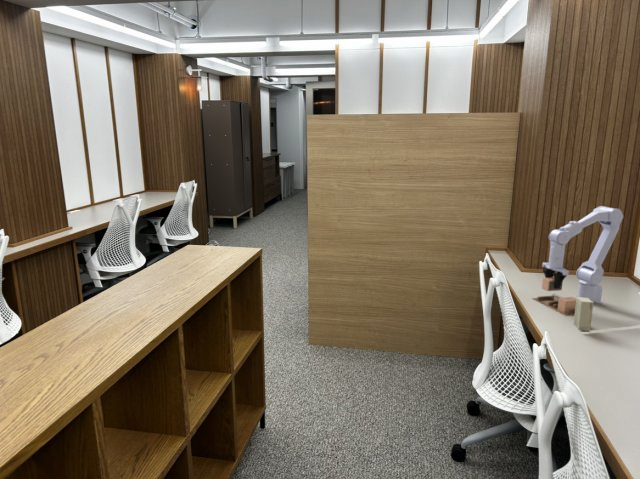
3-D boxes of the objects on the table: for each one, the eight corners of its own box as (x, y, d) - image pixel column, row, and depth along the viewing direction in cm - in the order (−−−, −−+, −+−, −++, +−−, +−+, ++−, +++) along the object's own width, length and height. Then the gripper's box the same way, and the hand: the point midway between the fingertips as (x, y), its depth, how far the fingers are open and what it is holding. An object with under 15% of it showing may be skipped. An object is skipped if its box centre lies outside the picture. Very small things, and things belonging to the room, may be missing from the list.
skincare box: (590, 332, 181) (594, 302, 179) (577, 331, 182) (581, 301, 179) (584, 326, 187) (588, 297, 185) (572, 325, 188) (576, 296, 186)
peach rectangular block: (541, 288, 212) (543, 277, 211) (555, 287, 213) (556, 276, 212) (548, 291, 208) (549, 280, 207) (562, 290, 209) (563, 280, 208)
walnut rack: (555, 298, 220) (555, 293, 219) (592, 315, 199) (592, 310, 198) (530, 300, 217) (531, 295, 216) (566, 318, 196) (566, 312, 195)
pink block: (570, 307, 205) (571, 296, 204) (578, 311, 201) (579, 300, 200) (556, 308, 204) (557, 297, 203) (564, 312, 199) (565, 301, 198)
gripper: (537, 253, 213) (534, 281, 216) (560, 261, 200) (556, 292, 202) (551, 252, 215) (547, 281, 218) (574, 260, 201) (570, 291, 204)
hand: (552, 286), depth 210 cm, fingers closed on peach rectangular block, 5 cm apart
